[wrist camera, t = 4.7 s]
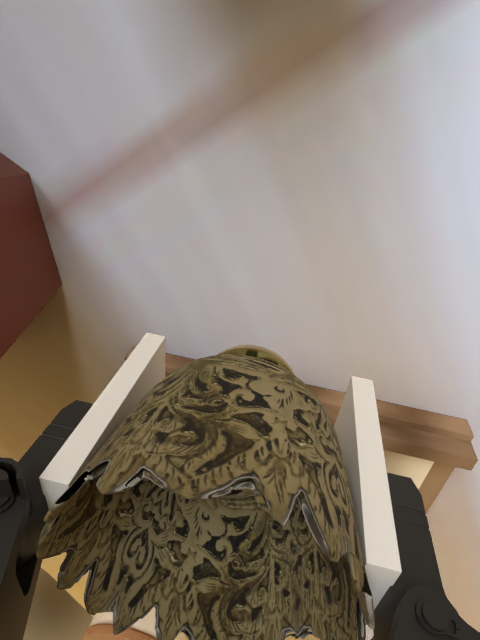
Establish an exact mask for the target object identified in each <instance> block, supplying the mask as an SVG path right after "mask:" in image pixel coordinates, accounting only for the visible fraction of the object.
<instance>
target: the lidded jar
mask: <svg viewBox="0 0 480 640" xmlns="http://www.w3.org/2000/svg"><path fill="white" fill-rule="evenodd" d="M155 622H156V617H155V607H153V608H152V609H151V611H150V612H149V613H148V614H147V615H146V616H145V617H144V618H143V619H139V620H138V621H137V622H136V623H134V624H133V625H132V626H131V627H129V628H128V629H126V630H125V631H123V632H121V633H120V634H118V635H114V632H113V612H104V613H96V614H95V615H94V617H93V619H92V621H91V624H90V626H89V628H88V629H87V630H86V632H85V634H84V636H83V639H82V640H157V636H156V631H155ZM180 632H181V631H180ZM180 632H179V633H180ZM186 638H187V636H186V635H185V634H184V633H183V632H182V633H180V634H178V635H177V637H176V638H175V639H174V640H186Z"/></svg>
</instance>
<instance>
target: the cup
mask: <svg viewBox="0 0 480 640" xmlns="http://www.w3.org/2000/svg"><path fill="white" fill-rule="evenodd" d="M76 490H78V491H77V492H76V493H75V494H74V495H73V496H72V497H71V498H70V495H71V494H73V493H74V492H75V491H76ZM44 522H47V523H46V524H45V526H44V528H43V530H42V532H41V534H40V538H39V541H38V545H37V552H36V557H37V559H45V558H49V557H53V556H56V555H60V554H61V553H63V552H66V553H67V555H66V558H65V560H64V561H63V563H62V564H61V567H60V571H59V574H58V585H57V588H58V589H60V590H62V589H68V588H71V587H72V586H73V585H74V584H75V583H77V582H78V581H79V579H80V578H81V577H82V576H83V575H85V574H86V573H87V572H88V570H90V571H89V575H88V579H87V583H86V588H85V594H84V602H85V606H86V610H87V612H88V613H89V614H90V615H95V614H96V613H104V612H113V632H114V635H118V634H120V633H121V632H123V631H125V630H126V629H128V628H129V627H131V626H132V625H133V624H134V623H136V622H137V621H138V620H139V619H143V618H144V617H145V616H146V615H147V614H148V613H149V612H150V611H151V609H152V608H153V607H155V617H156V622H155V631H156V636H157V640H174V639H175V638H176V637H177V635H178V634H180V633H182V632H183V633H184V634H185V635H186V636H187V637H188V639H189V640H285V638H286V637H288V636H292V637H295V638H299V637H300V638H301V639H305V638H306V637H307V636H308V634H312V635H313V636H314V637H317V638H319V639H320V640H365V638H366V630H365V621H366V623H367V625H368V626H369V627H370V628H371V629H373V630H374V629H375V615H374V606H373V597H372V593H371V590H370V587H369V583H368V579H367V574H366V569H365V564H364V559H363V554H362V548H361V543H360V538H359V533H358V527H357V522H356V517H355V512H354V507H353V501H352V496H351V491H350V486H349V481H348V477H347V472H346V468H345V464H344V459H343V455H342V451H341V447H340V444H339V440H338V437H337V434H336V432H335V429H334V427H333V424H332V422H331V420H330V417H329V415H328V413H327V412H326V410H325V408H324V407H323V405H322V404H321V402H320V401H319V399H318V398H317V397H316V395H315V394H314V393H313V392H312V391H311V389H310V388H309V387H308V386H307V385H305V384H304V383H303V382H302V381H301V380H300V379H298V378H297V377H296V376H295V374H294V372H293V371H292V369H291V367H290V366H289V365H288V363H287V362H286V361H285V360H284V359H283V358H282V357H280V356H279V355H278V354H276V353H275V352H273V351H271V350H269V349H266V348H264V347H260V346H255V345H239V346H234V347H231V348H229V349H226V350H224V351H222V352H221V353H219V354H218V355H216V356H210V357H206V358H201V359H198V360H195V361H192V362H190V363H188V364H186V365H184V366H182V367H180V368H178V369H176V370H175V371H173V372H172V373H170V374H169V375H167V376H166V377H165V378H164V379H162V380H161V381H160V382H159V383H158V384H157V385H156V386H154V387H153V388H152V389H151V390H150V391H149V392H148V393H147V394H146V395H145V396H144V397H143V398H142V399H141V401H140V402H139V403H138V404H137V405H136V406H135V407H134V409H133V410H132V411H131V412H130V413H129V414H128V416H127V417H126V418H125V419H124V420H123V422H122V423H121V424H120V425H119V427H118V428H117V429H116V430H115V431H114V433H113V434H112V435H111V436H110V437H109V439H108V440H107V441H106V442H105V444H104V445H103V446H102V447H101V449H100V450H99V451H98V452H97V454H96V455H95V456H94V457H93V459H92V460H91V461H90V462H89V463H88V465H87V466H86V467H85V468H84V470H83V471H82V472H81V473H80V475H79V476H78V477H77V478H76V480H75V481H74V482H73V483H72V484H71V486H70V487H69V488H68V489H67V490H66V491H65V492H64V493H63V494H62V496H61V497H60V498H59V499H58V500H57V501H56V502H55V503H54V504H53V505H52V507H51V508H50V509H49V511H48V512H47V514H46V515H45V517H44ZM308 630H311V631H312V632H310V631H308ZM180 631H181V632H180ZM307 631H308V632H307ZM179 632H180V633H179ZM289 632H294V633H295V634H289V635H287V636H286V634H287V633H289ZM190 636H191V637H190ZM285 636H286V637H285ZM191 638H192V639H191Z"/></svg>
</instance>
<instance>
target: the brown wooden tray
mask: <svg viewBox="0 0 480 640" xmlns="http://www.w3.org/2000/svg"><path fill="white" fill-rule="evenodd" d="M135 348H136V346H134V347H133V348H132V349H131V351H130V352H129V353H128V355H127V356H126V357H125V361H126V360H127V358H128V357H129V356H130V354H131V353H132V352H133V350H134V349H135ZM192 361H195V360H194V359H190V358H185V357H181V356H176V355H172V354H167V353H165V377H166V376H167V375H169V374H170V373H172V372H173V371H175V370H176V369H178V368H180V367H182V366H184V365H186V364H188V363H190V362H192ZM305 385H307V384H305ZM307 386H308V387H309V388H310V389H311V391H312V392H313V393H314V394H315V395H316V397H317V398H318V399H319V401H320V402H321V404H322V405H323V407H324V408H325V410H326V412H327V413H328V415H329V417H330V420H331V422H332V424H333V427H334V425H335V422H336V420H337V417H338V414H339V411H340V408H341V405H342V402H343V399H344V397H345V394H346V393H343V392H338V391H334V390H329V389H325V388H320V387H316V386H311V385H307ZM376 404H377V411H378V418H379V424H380V431H381V438H382V444H383V451H384V457H385V464H386V471H387V472H388V473H392V474H396V475H400V476H405V477H409V478H411V479H412V480H413V482H414V484H415V485H416V487H417V488H418V490H419V492H420V493H421V495H422V499H423V503H424V508H425V512H426V513H427V511H428V510H429V508H430V506H431V505H432V503H433V501H434V500H435V498H436V497H437V495H438V493H439V492H440V490H441V489H442V487H443V485H444V484H445V482H446V481H447V479H448V477H449V476H450V474H451V472H452V471H453V469H454V468H455V467H458V468H463V469H467V470H472V468H473V467H474V465H475V464H476V462H477V461H478V459H477V457H476V454H475V452H474V449H473V447H472V444H471V440H472V439H473V437H474V436H473V433H472V431H471V429H470V426H469V424H468V421H467V420H465V419H460V418H456V417H451V416H447V415H442V414H438V413H433V412H429V411H424V410H420V409H415V408H410V407H406V406H401V405H397V404H392V403H388V402H383V401H379V400H376ZM426 513H425V514H426Z"/></svg>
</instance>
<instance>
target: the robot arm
mask: <svg viewBox="0 0 480 640" xmlns="http://www.w3.org/2000/svg"><path fill="white" fill-rule="evenodd" d="M165 344H166V336H161V335H157V334H152V333H146V334H145V335H144V337H143V338H142V339H141V341H140V342H139V344H138V345H137V346H136V348H135V349H134V350H133V352H132V353H131V354H130V356H129V357H128V358H127V360H126V361H125V362H124V364H123V365H122V366H121V368H120V369H119V370H118V372H117V373H116V375H115V376H114V377H113V379H112V380H111V381H110V383H109V384H108V385H107V387H106V388H105V389H104V391H103V392H102V393H101V395H100V396H99V397H98V399H97V400H96V401H95V403H94V404H91V403H86V402H82V401H78V400H76V401H75V402H73V403H71V404H70V405H68V406H67V407H65V408H64V409H62V410H61V411H60V412H59V414H58V415H57V416H56V417H55V418H54V420H53V421H52V422H51V425H49V426H48V427H47V428H46V429H45V430H44V432H43V434H42V435H40V436H39V438H38V439H37V440H36V441H35V443H34V444H33V445H32V446H31V447H30V449H29V450H28V451H27V452H26V453H25V455H24V456H23V457H22V458H21V459H20V461H19V462H16V461H15V460H13V459H11V458H0V640H23V636H24V632H25V628H26V624H27V619H28V616H29V612H30V608H31V603H32V599H33V595H34V591H35V587H36V583H37V579H38V575H39V571H40V567H41V563H42V559H37V557H36V552H37V545H38V541H39V538H40V534H41V532H42V530H43V528H44V526H45V524H46V523H47V522H44V517H45V515H46V514H47V512H48V511H49V509H50V508H51V507H52V505H53V504H54V503H55V502H56V501H57V500H58V499H59V498H60V497H61V496H62V494H63V493H64V492H65V491H66V490H67V489H68V488H69V487H70V486H71V484H72V483H73V482H74V481H75V480H76V478H77V477H78V476H79V475H80V473H81V472H82V471H83V470H84V468H85V467H86V466H87V465H88V463H89V462H90V461H91V460H92V459H93V457H94V456H95V455H96V454H97V452H98V451H99V450H100V449H101V447H102V446H103V445H104V444H105V442H106V441H107V440H108V439H109V437H110V436H111V435H112V434H113V433H114V431H115V430H116V429H117V428H118V427H119V425H120V424H121V423H122V422H123V420H124V419H125V418H126V417H127V416H128V414H129V413H130V412H131V411H132V410H133V409H134V407H135V406H136V405H137V404H138V403H139V402H140V401H141V399H142V398H143V397H144V396H145V395H146V394H147V393H148V392H149V391H150V390H151V389H152V388H153V387H154V386H156V385H157V384H158V383H159V382H160V381H161V380H162V379H164V378H165ZM334 429H335V432H336V434H337V437H338V440H339V444H340V447H341V451H342V455H343V459H344V464H345V468H346V472H347V477H348V481H349V486H350V491H351V496H352V501H353V507H354V512H355V517H356V522H357V527H358V533H359V538H360V543H361V548H362V554H363V559H364V564H365V569H366V574H367V579H368V583H369V587H370V590H371V593H372V597H373V606H374V615H375V629H374V630H373V631H374V636H373V638H372V639H371V640H480V632H478V631H476V630H475V629H474V628H472V627H471V626H470V625H468V624H467V623H466V622H465V621H464V620H463V619H462V618H461V617H460V616H459V615H458V612H457V611H456V609H455V608H454V607H453V606H452V604H451V603H450V602H449V600H448V599H447V597H446V595H445V592H444V589H443V586H442V582H441V578H440V574H439V569H438V565H437V560H436V556H435V552H434V547H433V543H432V538H431V534H430V531H429V525H428V521H427V516H425V513H426V512H425V508H424V503H423V499H422V495H421V493H420V492H419V490H418V488H417V487H416V485H415V484H414V482H413V480H412V479H411V478H409V477H405V476H400V475H396V474H392V473H388V472H387V471H386V464H385V457H384V451H383V444H382V438H381V431H380V424H379V418H378V411H377V404H376V398H375V391H374V384H373V380H369V379H365V378H360V377H355V376H351V379H350V382H349V385H348V388H347V391H346V394H345V397H344V399H343V402H342V405H341V408H340V411H339V414H338V417H337V420H336V422H335V425H334ZM77 491H78V490H76V491H75V492H74V493H73V494H71V495H70V498H71V497H72V496H73V495H74V494H75V493H76V492H77ZM366 624H367V623H366V621H365V625H366Z"/></svg>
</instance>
